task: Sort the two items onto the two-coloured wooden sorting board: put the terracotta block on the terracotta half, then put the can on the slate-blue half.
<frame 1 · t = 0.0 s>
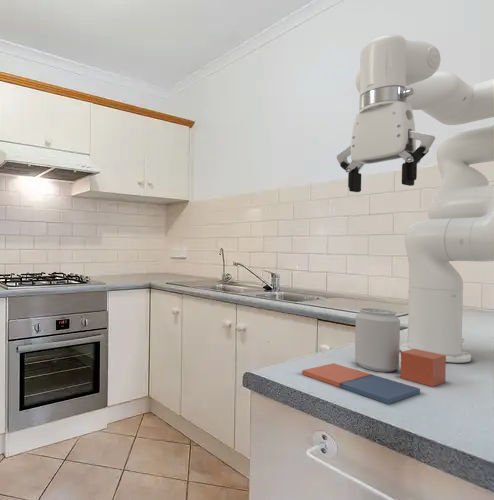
hand: (380, 188, 73), 37 cm above the counter, tool pointing down, fingers open, 9 cm apart
can: (376, 368, 75), on the counter
terracotta block: (422, 380, 68), on the counter
sorting board: (357, 383, 66), on the counter
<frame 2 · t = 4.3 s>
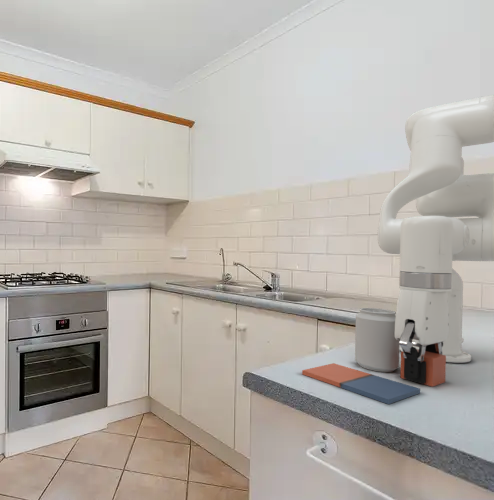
hand: (422, 377, 68), 0 cm above the counter, tool pointing down, fingers closed on terracotta block, 5 cm apart
terracotta block: (422, 380, 68), on the counter, touching gripper
everything else where it was.
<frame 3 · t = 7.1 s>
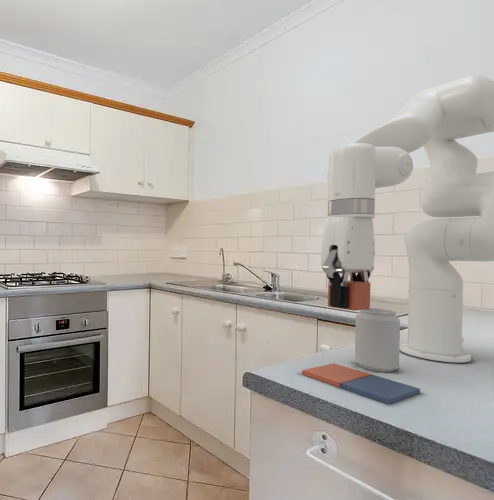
hand: (348, 305, 69), 14 cm above the counter, tool pointing down, fingers closed on terracotta block, 5 cm apart
terracotta block: (348, 307, 69), point 13 cm above the counter, touching gripper
everything else where it was.
when the fingers open (1 cm above the counter, at t = 10.3 s): terracotta block stays where it is, resting on sorting board.
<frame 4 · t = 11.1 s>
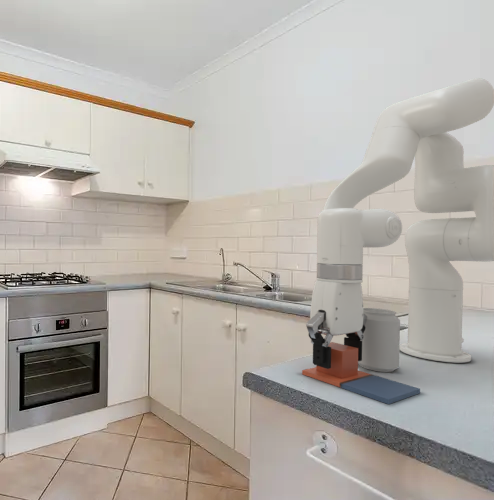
hand: (337, 362, 70), 3 cm above the counter, tool pointing down, fingers open, 9 cm apart
terracotta block: (336, 372, 70), point 1 cm above the counter, touching sorting board
everything else where it was.
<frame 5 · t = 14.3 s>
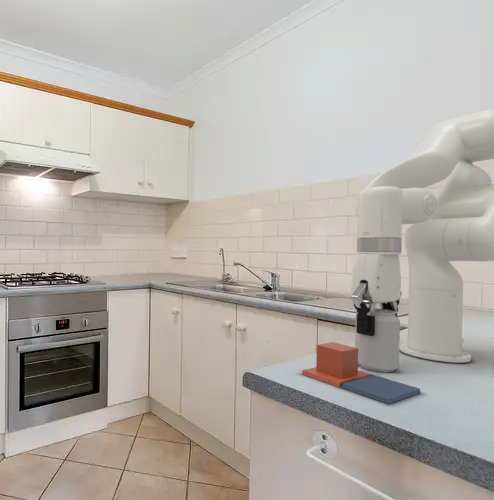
hand: (376, 332, 75), 7 cm above the counter, tool pointing down, fingers closed on can, 7 cm apart
can: (376, 368, 75), on the counter, touching gripper
everything else where it was.
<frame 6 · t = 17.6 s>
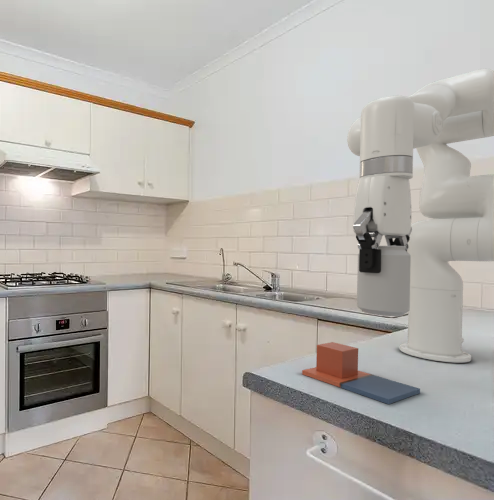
hand: (383, 271, 64), 21 cm above the counter, tool pointing down, fingers closed on can, 7 cm apart
can: (382, 314, 64), point 13 cm above the counter, touching gripper
everything else where it was.
when the fingers open (8 cm above the counter, at t = 21.0 s): can stays where it is, resting on sorting board.
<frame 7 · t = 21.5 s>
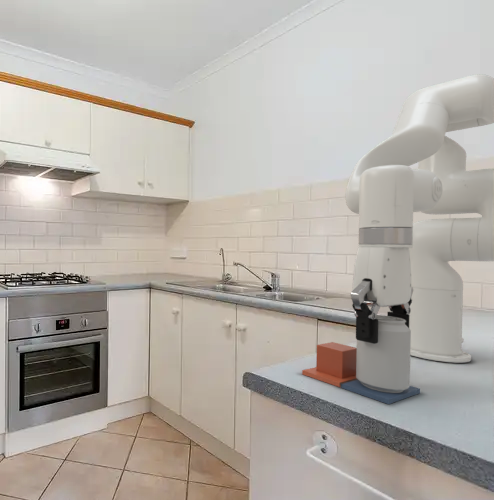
hand: (382, 338, 63), 9 cm above the counter, tool pointing down, fingers open, 9 cm apart
can: (381, 387, 63), point 1 cm above the counter, touching sorting board
everything else where it was.
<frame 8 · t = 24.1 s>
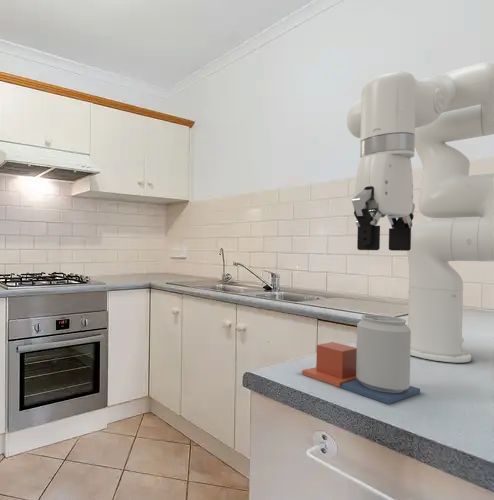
hand: (384, 250, 62), 24 cm above the counter, tool pointing down, fingers open, 9 cm apart
nothing on the counter moved.
at the end: terracotta block inside the target area (0.6 cm from its centre), point 0.8 cm above the counter; can inside the target area (0.3 cm from its centre), point 0.6 cm above the counter; can tilted 0° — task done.
